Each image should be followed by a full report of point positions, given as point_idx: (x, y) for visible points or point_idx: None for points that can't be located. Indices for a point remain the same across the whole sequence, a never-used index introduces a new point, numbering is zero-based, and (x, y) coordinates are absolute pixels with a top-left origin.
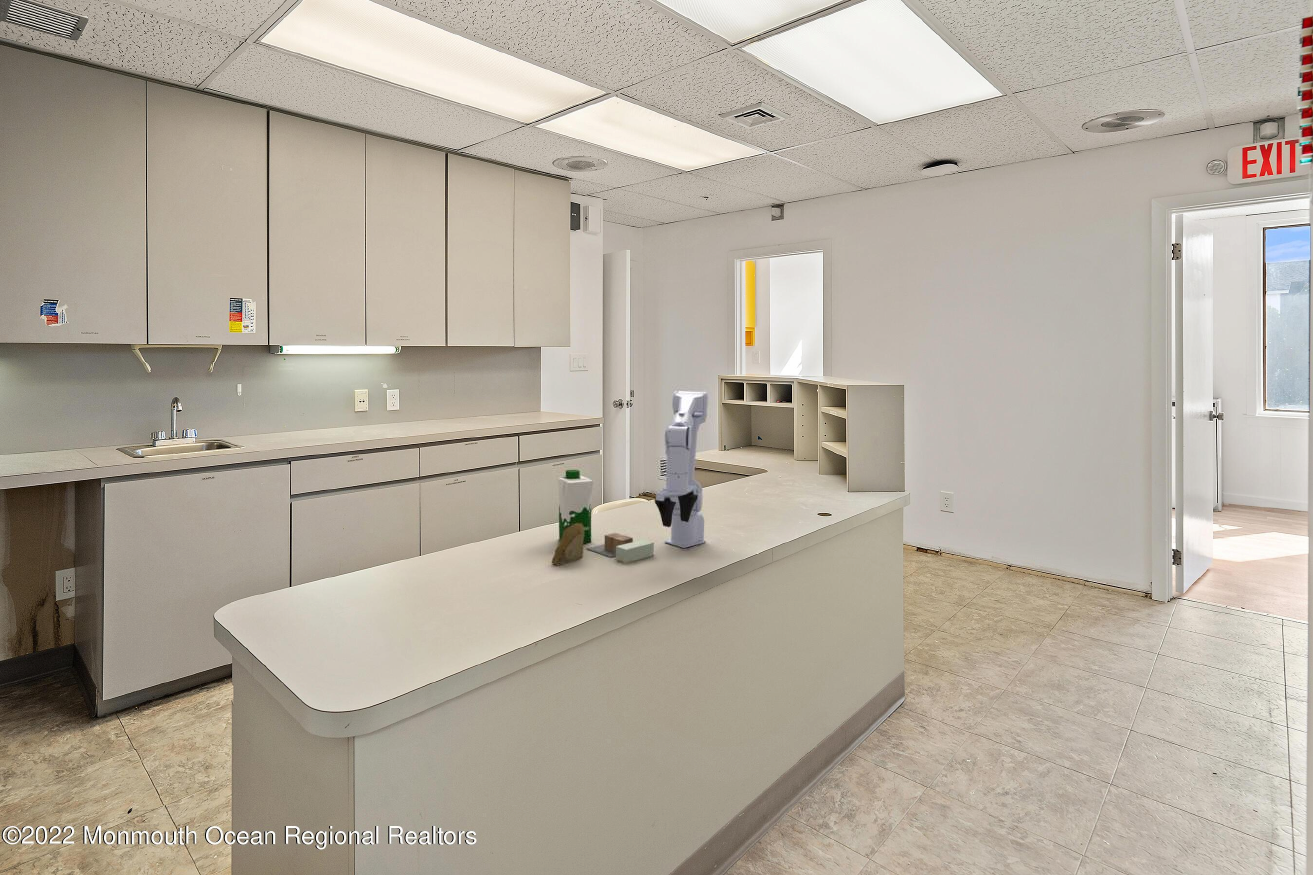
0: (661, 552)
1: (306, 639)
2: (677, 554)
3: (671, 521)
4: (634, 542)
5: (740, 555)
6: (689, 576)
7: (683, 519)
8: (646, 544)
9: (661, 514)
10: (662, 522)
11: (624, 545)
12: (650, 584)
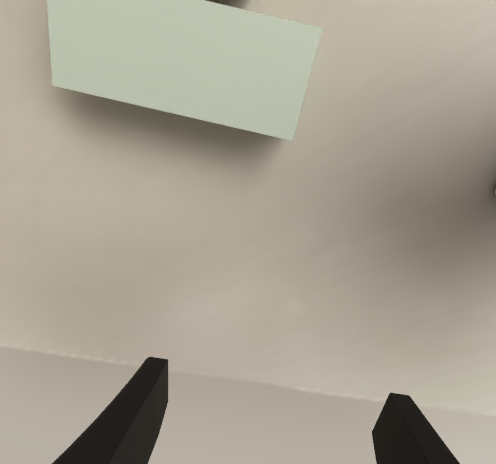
0: (363, 132)
1: None
2: (371, 215)
3: (149, 451)
4: (215, 19)
5: (475, 397)
6: (155, 355)
7: (388, 422)
8: (229, 124)
9: (77, 452)
10: (132, 378)
11: (106, 7)
12: (4, 302)
